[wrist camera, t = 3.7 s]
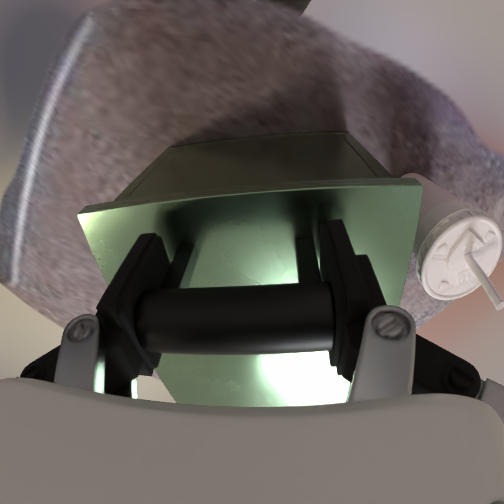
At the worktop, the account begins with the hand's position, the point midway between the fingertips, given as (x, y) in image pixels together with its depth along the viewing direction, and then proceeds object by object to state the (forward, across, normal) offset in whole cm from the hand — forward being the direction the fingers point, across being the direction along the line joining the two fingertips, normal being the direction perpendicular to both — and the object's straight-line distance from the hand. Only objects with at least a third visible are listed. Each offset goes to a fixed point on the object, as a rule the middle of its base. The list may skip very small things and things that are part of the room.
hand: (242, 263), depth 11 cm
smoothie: (+14, -12, +4) cm, 19 cm away
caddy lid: (+2, 0, +6) cm, 7 cm away
